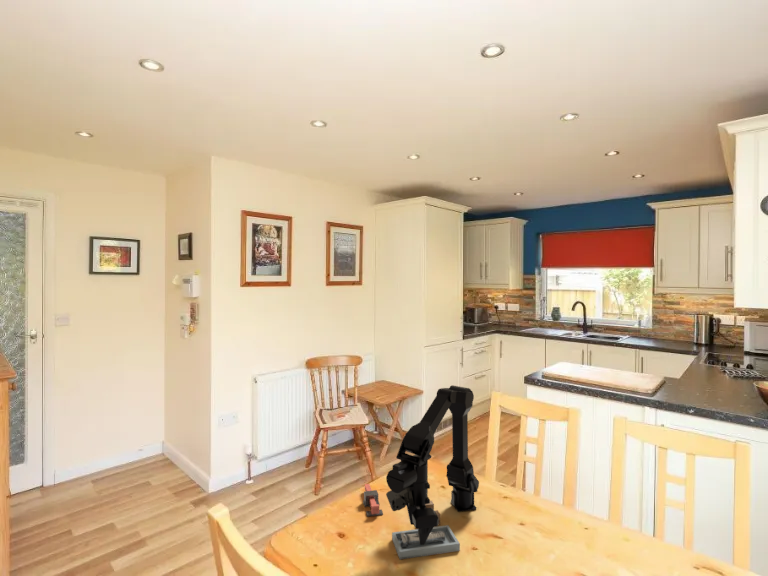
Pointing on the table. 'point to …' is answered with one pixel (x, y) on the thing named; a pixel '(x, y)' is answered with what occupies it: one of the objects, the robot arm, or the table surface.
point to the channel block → (431, 505)
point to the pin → (414, 538)
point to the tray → (426, 544)
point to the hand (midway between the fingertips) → (417, 533)
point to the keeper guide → (367, 504)
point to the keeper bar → (372, 501)
